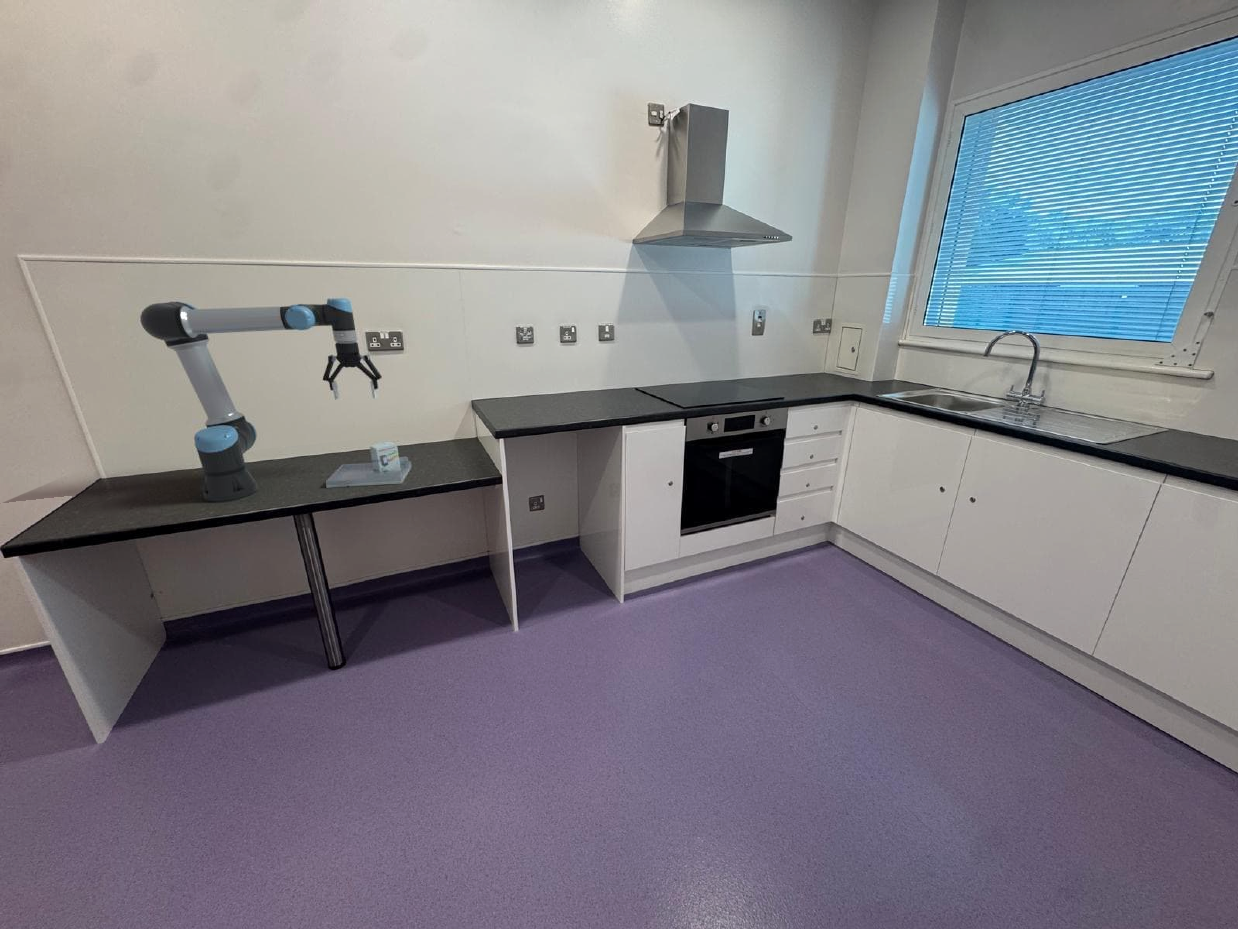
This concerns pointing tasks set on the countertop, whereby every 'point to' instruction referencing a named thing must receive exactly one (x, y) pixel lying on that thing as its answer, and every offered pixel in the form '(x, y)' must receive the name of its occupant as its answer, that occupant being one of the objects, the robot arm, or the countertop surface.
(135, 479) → the countertop surface
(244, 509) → the countertop surface
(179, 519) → the countertop surface
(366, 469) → the keyhole tray
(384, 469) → the ink box
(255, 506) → the countertop surface
